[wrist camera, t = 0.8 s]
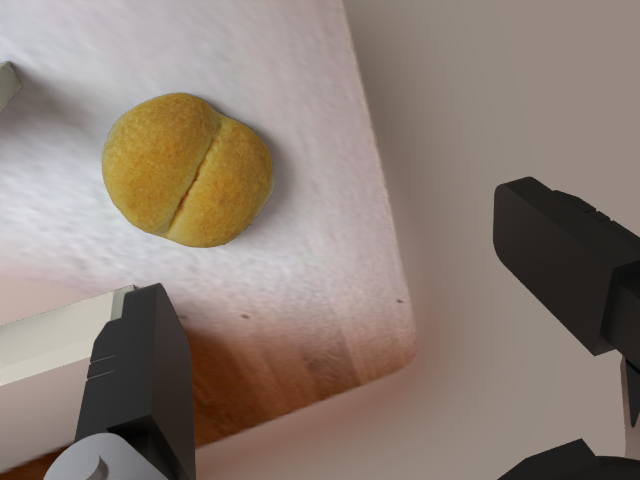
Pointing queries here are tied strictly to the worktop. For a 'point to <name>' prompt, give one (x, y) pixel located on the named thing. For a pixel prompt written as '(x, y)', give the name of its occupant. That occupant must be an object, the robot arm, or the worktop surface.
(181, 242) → the bread roll
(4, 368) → the holder
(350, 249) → the worktop surface
